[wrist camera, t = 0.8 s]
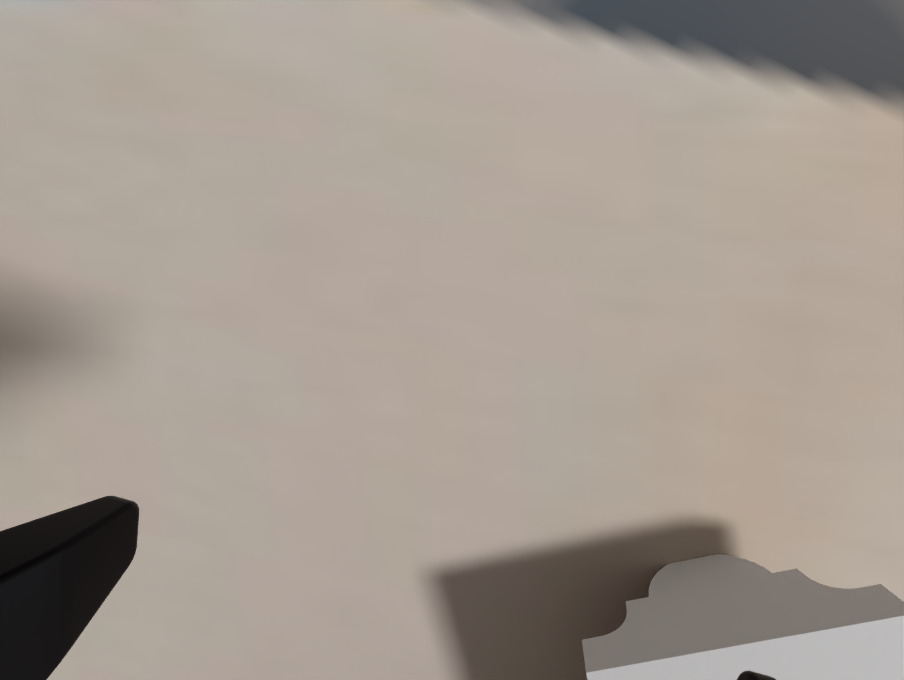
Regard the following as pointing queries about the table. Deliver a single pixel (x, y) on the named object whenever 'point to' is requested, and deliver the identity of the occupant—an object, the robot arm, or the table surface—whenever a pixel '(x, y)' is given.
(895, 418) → the table surface
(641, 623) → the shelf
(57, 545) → the robot arm
